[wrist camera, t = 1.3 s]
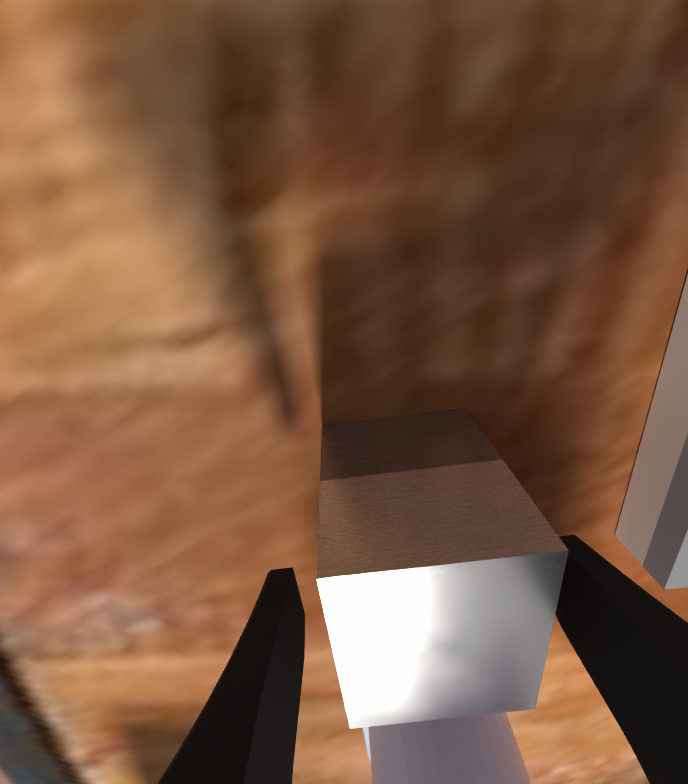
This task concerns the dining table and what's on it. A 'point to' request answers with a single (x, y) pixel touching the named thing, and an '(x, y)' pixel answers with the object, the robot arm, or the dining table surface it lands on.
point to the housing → (432, 571)
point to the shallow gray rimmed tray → (663, 471)
